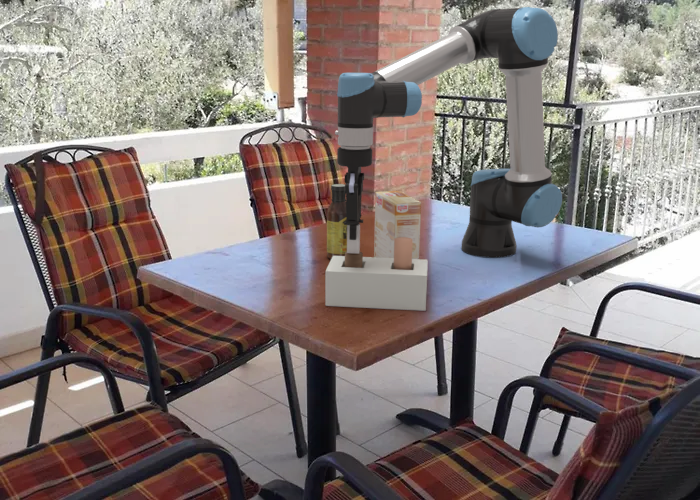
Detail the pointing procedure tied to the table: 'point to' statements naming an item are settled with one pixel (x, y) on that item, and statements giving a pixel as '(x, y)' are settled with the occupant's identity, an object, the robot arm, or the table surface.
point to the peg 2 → (403, 253)
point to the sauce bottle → (337, 222)
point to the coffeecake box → (396, 222)
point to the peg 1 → (354, 260)
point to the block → (376, 284)
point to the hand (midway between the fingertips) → (353, 252)
